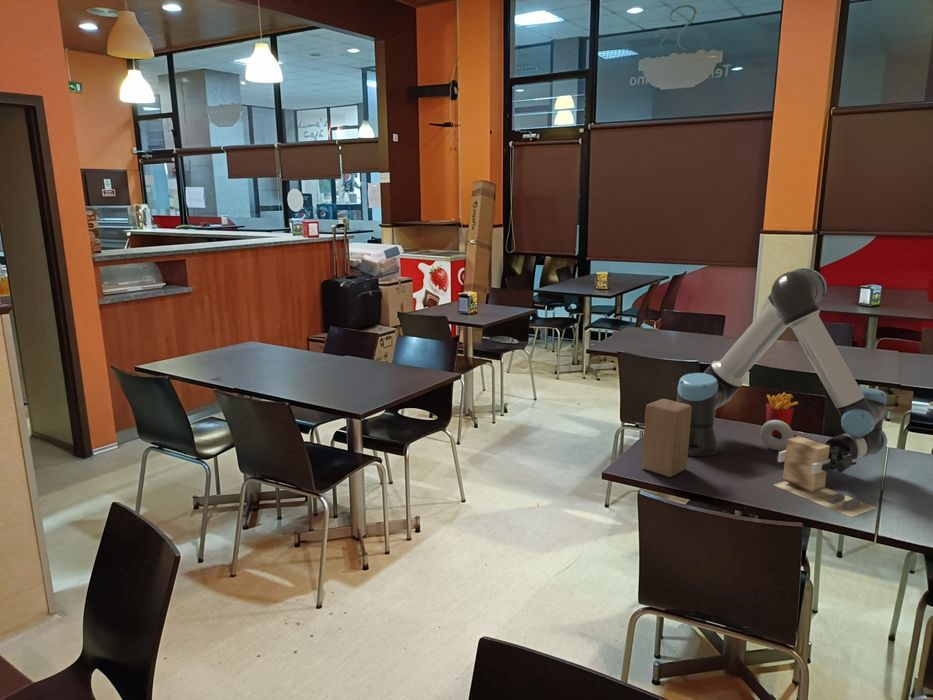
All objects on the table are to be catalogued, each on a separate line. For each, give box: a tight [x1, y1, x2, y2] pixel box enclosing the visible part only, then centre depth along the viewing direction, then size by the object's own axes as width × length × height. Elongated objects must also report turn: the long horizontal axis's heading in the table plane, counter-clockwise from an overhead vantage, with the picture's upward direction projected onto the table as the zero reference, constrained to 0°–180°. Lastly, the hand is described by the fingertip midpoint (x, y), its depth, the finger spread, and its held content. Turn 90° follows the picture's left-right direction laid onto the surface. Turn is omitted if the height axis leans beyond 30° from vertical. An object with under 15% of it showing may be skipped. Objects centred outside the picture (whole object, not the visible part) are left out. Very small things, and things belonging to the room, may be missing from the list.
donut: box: [759, 420, 794, 452], centre depth 215 cm, size 10×4×10 cm, turn 49°
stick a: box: [827, 492, 846, 504], centre depth 177 cm, size 2×5×1 cm, turn 120°
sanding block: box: [782, 435, 830, 492], centre depth 183 cm, size 9×5×12 cm, turn 30°
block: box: [641, 398, 692, 478], centre depth 198 cm, size 10×10×20 cm
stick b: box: [842, 498, 861, 510], centre depth 173 cm, size 2×5×1 cm, turn 120°
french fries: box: [765, 392, 799, 437], centre depth 228 cm, size 9×8×15 cm
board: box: [773, 480, 877, 518], centre depth 180 cm, size 22×11×2 cm, turn 30°
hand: (795, 463), depth 181 cm, fingers closed on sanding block, 9 cm apart
